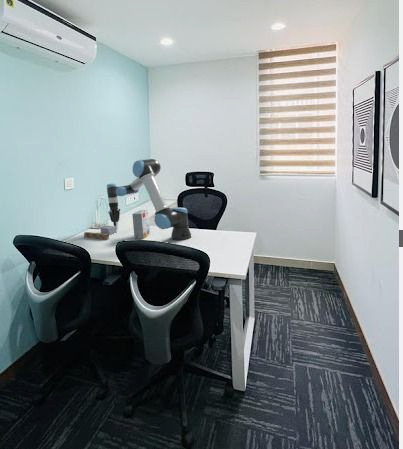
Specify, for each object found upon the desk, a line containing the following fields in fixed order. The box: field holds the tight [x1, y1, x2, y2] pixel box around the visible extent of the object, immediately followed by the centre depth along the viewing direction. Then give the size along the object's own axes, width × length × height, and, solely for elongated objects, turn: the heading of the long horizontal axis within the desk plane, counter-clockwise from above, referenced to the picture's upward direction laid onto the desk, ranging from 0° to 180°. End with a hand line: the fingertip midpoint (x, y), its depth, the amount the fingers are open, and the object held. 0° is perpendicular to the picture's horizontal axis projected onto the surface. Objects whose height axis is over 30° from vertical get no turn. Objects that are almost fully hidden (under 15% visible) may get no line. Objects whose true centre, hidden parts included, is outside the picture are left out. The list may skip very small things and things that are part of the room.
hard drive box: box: [132, 209, 151, 240], centre depth 261 cm, size 16×8×20 cm, turn 168°
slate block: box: [99, 224, 118, 236], centre depth 277 cm, size 10×8×6 cm
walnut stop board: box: [83, 231, 110, 241], centre depth 265 cm, size 24×2×4 cm, turn 63°
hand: (116, 229), depth 286 cm, fingers closed
